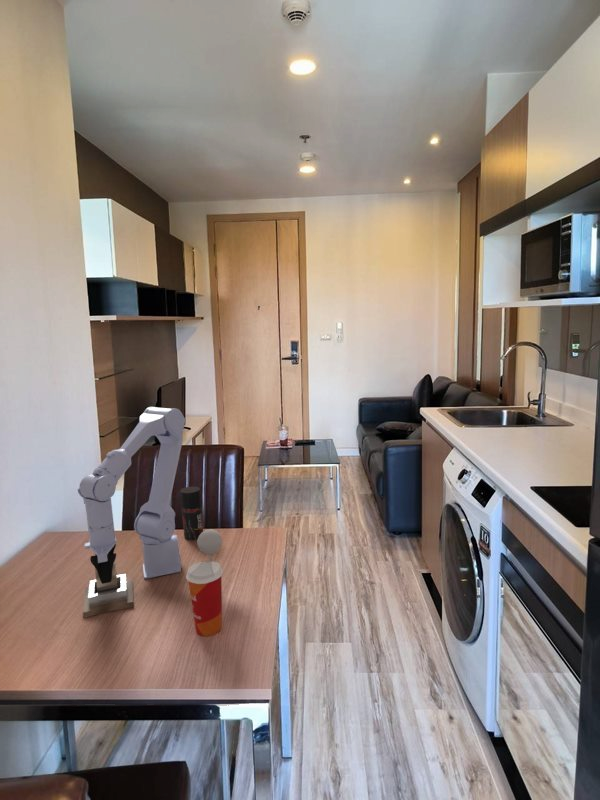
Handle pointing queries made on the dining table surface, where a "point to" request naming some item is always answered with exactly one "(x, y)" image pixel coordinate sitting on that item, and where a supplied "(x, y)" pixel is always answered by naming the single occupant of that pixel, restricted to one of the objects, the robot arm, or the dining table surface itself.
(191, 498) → the deodorant
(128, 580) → the collar board
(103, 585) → the sleeve block
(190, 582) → the paper cup
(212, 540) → the lollipop
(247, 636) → the dining table surface
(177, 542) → the robot arm
